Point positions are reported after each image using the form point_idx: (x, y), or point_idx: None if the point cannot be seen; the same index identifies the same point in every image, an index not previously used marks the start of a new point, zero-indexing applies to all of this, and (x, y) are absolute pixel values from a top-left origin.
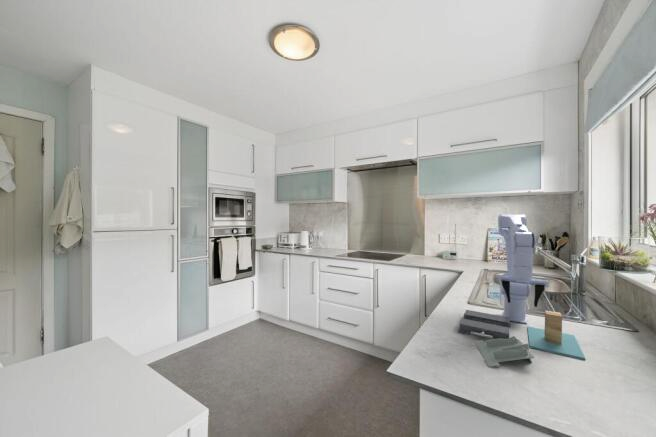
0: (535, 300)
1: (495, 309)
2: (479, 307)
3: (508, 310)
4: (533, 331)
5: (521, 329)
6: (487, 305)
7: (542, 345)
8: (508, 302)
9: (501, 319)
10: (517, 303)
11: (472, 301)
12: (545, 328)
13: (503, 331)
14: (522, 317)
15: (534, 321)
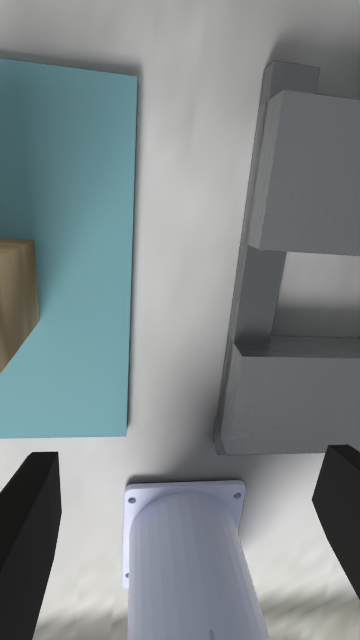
0: (16, 525)
1: (257, 592)
2: (331, 576)
3: (228, 543)
4: (98, 371)
5: (160, 389)
6: (287, 619)
7: (55, 134)
8: (346, 444)
9: (284, 392)
10: (188, 611)
11: (349, 630)
12: (9, 290)
13: (316, 131)
14: (147, 522)
15: (85, 540)
